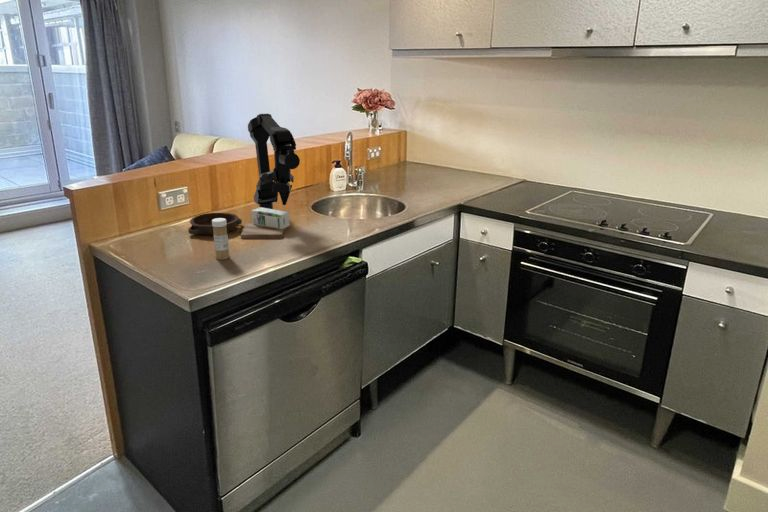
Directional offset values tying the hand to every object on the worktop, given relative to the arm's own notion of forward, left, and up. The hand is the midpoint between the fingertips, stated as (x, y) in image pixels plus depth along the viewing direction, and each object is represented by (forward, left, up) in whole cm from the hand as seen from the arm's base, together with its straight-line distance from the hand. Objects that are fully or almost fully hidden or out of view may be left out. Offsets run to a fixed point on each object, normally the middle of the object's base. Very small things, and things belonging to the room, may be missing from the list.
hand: (284, 204), depth 201 cm
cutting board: (+1, -8, -10) cm, 13 cm away
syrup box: (+1, 0, -6) cm, 6 cm away
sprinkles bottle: (+29, -18, -11) cm, 36 cm away
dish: (-1, -27, -11) cm, 29 cm away
